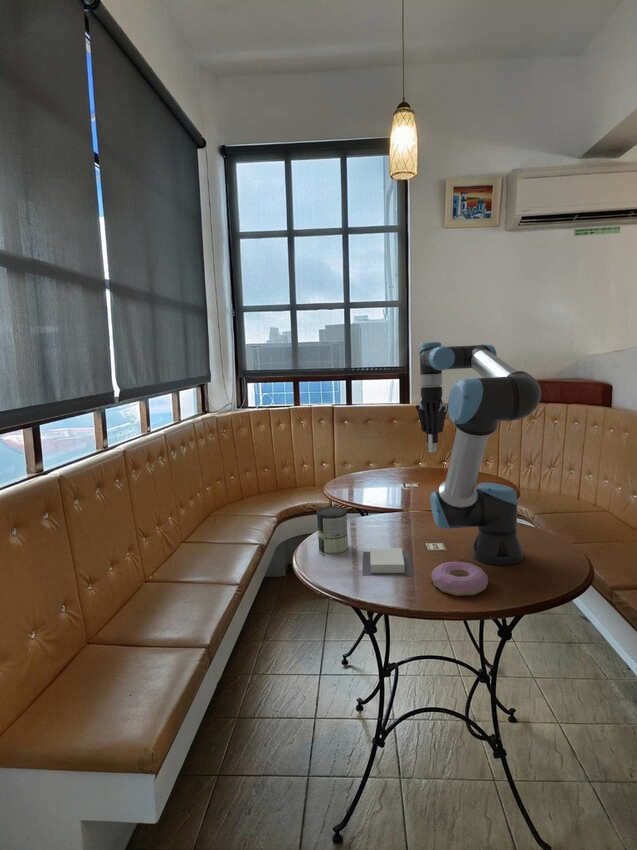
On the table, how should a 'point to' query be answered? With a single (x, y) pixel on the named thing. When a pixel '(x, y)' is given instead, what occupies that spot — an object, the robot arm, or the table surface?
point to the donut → (459, 578)
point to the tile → (387, 560)
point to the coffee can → (332, 530)
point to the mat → (368, 573)
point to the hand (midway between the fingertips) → (432, 451)
